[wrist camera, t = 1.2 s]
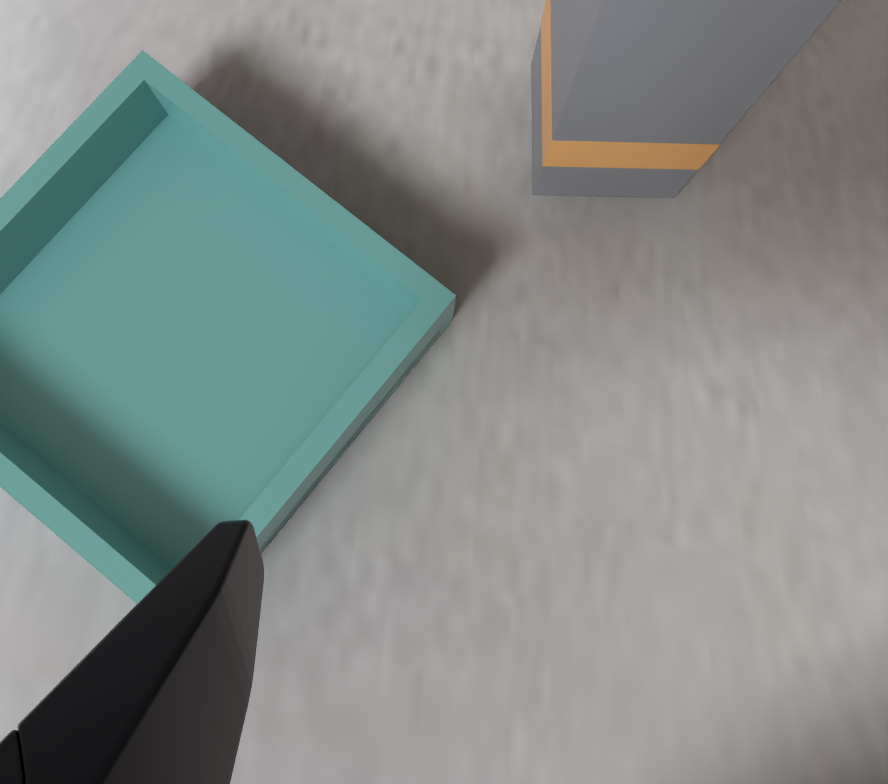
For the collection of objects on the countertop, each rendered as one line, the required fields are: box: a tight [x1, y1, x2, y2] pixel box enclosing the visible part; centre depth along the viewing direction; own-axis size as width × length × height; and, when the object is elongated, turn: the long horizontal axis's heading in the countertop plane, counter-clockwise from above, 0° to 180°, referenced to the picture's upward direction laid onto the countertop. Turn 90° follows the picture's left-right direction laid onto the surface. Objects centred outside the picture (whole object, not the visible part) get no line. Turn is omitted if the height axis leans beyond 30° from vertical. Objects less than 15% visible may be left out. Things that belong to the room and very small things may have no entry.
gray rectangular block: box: [532, 0, 841, 198], centre depth 19 cm, size 5×5×11 cm
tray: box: [0, 50, 456, 604], centre depth 22 cm, size 12×12×3 cm
